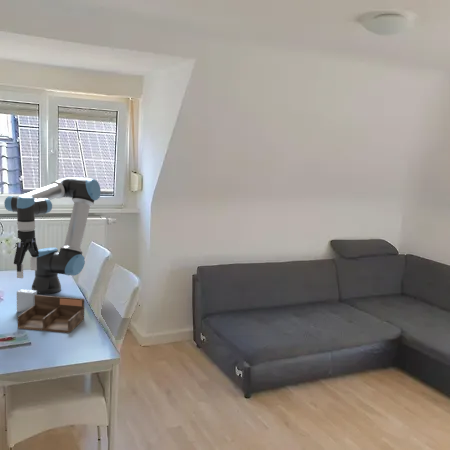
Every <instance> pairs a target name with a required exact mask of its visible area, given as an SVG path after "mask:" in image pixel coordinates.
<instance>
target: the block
mask: <svg viewBox="0 0 450 450" xmlns="http://www.w3.org/2000/svg"><path fill="white" fill-rule="evenodd" d="M35 295H38V293H37V291H35V290H32V289H22V288H21V289H19V290H17V291H16V313H23V312H25V311H26V310H27V309H29V308H30V307H32V306H33V305H35Z"/></svg>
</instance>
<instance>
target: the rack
mask: <svg viewBox="0 0 450 450" xmlns="http://www.w3.org/2000/svg"><path fill="white" fill-rule="evenodd" d="M84 320H85V298H78V297H70V296H69V297H67V296H58V295H57V296H55V295H45V294H37V295H35V305H33V306H32V307H30V308H29V309H27V310H26V311H25V312H21V313H20V314H19V315H17V320H16V321H17V329H18V330H19V329H20V330H33V331H45V332H56V333H66V334H70V333H71V332H72V331H73V330H75V329H76V328H77V327H78V326H79V325H80V324H81V323H82V322H83V321H84Z"/></svg>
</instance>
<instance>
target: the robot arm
mask: <svg viewBox="0 0 450 450" xmlns="http://www.w3.org/2000/svg"><path fill="white" fill-rule="evenodd" d="M100 197H101V185H100V183H99V181H98V180H96V179H95V178H90V177H78V176H70V177H64V178H60V179H57V180H54V181H52V182H50V184H49V185H46V186H43V187H40V188H37V189H34V190H31V191H29V192H26V193H23V194H20V195H8V196H6V198H5V199H4V203H3V204H4V208H5V209H6V211H8V212H12V213H16V214H17V215H16V217H17V218H16V220H17V222H16V224H17V239H19V240H20V242H17V243H16V250H15V253H14V259H13V264H14V265H16V278H17V279H24V262H23V261H24V258H25V256H26V253H27V252H29V254H30V257H29V259H30V271H34V279H33V281H32V285H31V290H35V291H37V295H47V294H48V295H49V294H55V293H58V292H60V291H61V290H62V285H61V281H60V279H59V275H63V276H64V275H66V276H74V277H75V276H78V275H79V274H80V273H81V272H82V271H83V269H84V267H85V263H86V261H85V256H84V255H83V251H82V249H81V247H82V243H83V238H84V235H85V229H86V225H87V222H88V216H89V213H90V208H91V207H92V206H93V205H94V204H95V203H94V202H95V201H98V200H99V199H100ZM61 198H71V200H72V202H73V206H72V210H71V211H72V212H71V215H70V219H69V223H68V227H67V232H66V236H65V241H64V244H63V246H61V247H60V248H59V250H58V248H57V247H45V248H39V249H38V245H37V241H36V240H37V239H36V230H35V228H36V220H35V217H36V216H40V215H45V214H48V213H50V212H51V211H52V209H53V203H52V201H51V200H53V199H61Z"/></svg>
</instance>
